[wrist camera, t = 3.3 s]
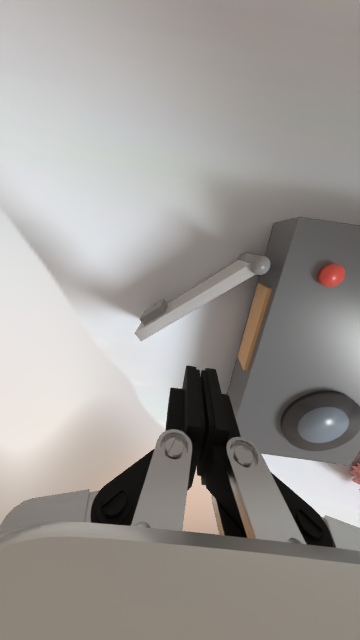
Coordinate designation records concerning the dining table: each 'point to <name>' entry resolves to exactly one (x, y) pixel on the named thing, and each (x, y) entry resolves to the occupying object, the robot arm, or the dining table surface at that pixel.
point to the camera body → (303, 346)
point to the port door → (201, 294)
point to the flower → (356, 473)
